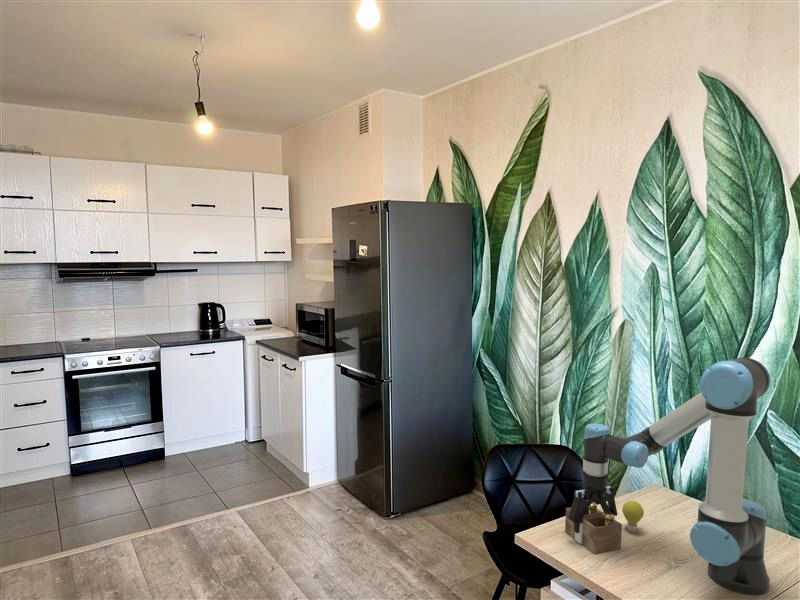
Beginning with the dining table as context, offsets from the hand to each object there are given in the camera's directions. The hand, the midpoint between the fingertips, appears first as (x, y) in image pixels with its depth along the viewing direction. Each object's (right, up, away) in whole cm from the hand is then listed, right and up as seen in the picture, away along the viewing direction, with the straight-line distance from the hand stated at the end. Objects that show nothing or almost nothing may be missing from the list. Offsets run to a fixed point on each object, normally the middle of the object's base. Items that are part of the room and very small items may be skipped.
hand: (592, 539), depth 180 cm
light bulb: (+16, 0, +7) cm, 18 cm away
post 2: (+4, -1, -3) cm, 5 cm away
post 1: (+1, 0, +5) cm, 5 cm away
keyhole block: (0, 0, 0) cm, 0 cm away
